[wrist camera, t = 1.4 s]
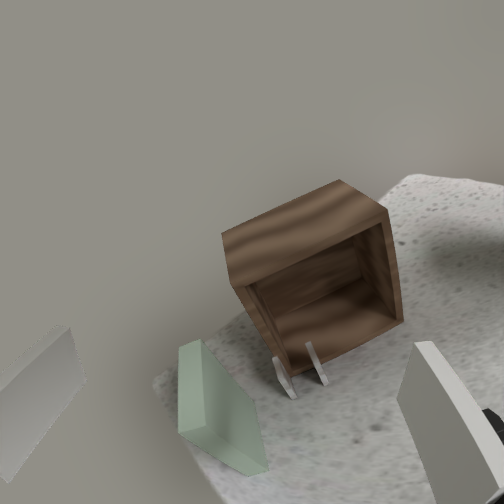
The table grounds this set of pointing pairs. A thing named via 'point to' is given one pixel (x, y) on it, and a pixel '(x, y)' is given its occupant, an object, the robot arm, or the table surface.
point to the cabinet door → (217, 411)
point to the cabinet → (316, 277)
